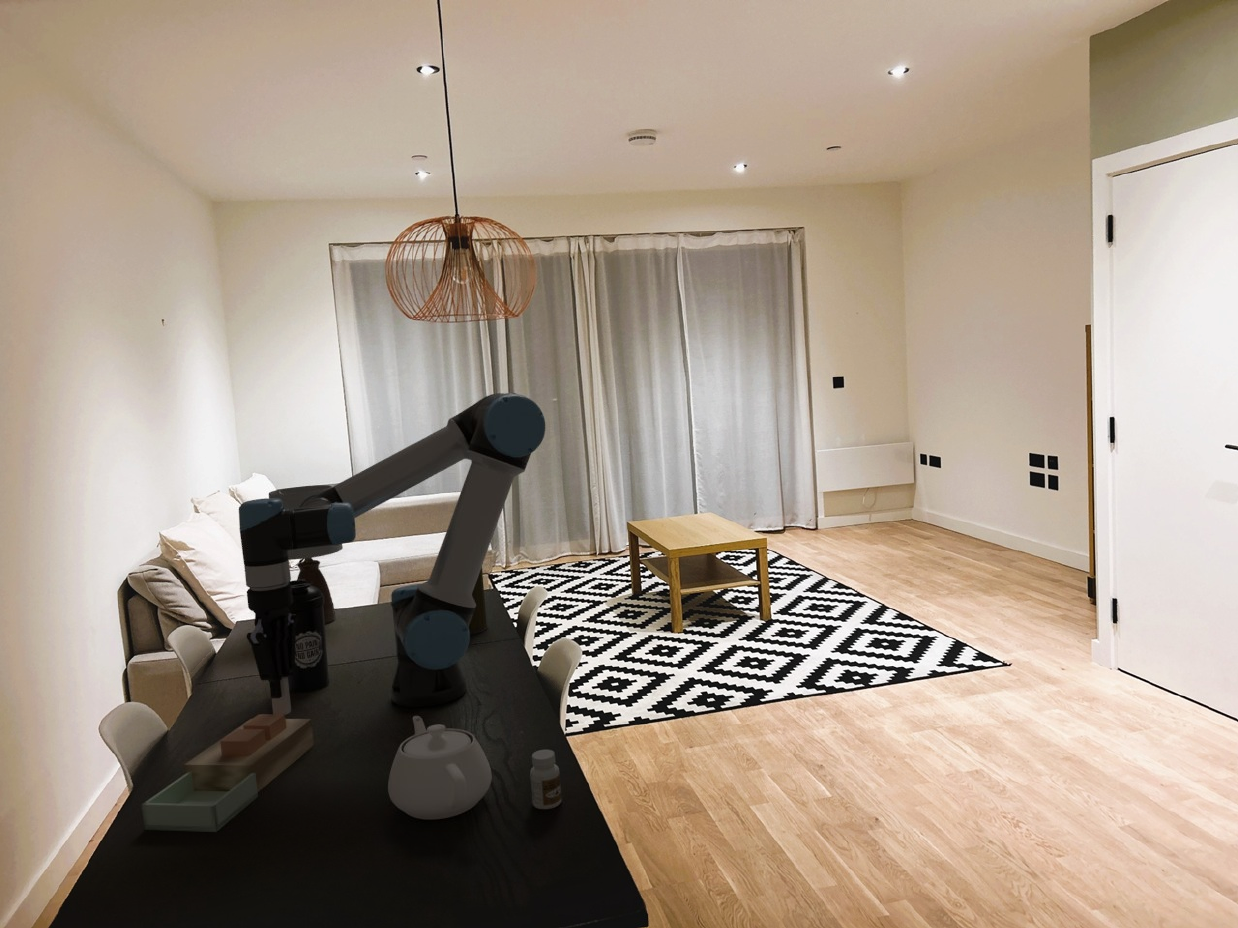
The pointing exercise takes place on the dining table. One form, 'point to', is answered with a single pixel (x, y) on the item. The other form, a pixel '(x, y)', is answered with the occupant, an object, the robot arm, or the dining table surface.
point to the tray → (196, 806)
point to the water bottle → (308, 639)
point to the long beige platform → (251, 759)
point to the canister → (478, 608)
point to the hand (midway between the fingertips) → (282, 712)
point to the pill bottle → (545, 780)
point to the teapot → (438, 772)
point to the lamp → (310, 566)
